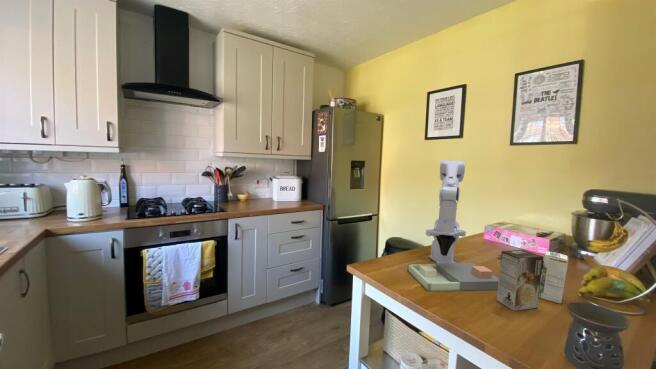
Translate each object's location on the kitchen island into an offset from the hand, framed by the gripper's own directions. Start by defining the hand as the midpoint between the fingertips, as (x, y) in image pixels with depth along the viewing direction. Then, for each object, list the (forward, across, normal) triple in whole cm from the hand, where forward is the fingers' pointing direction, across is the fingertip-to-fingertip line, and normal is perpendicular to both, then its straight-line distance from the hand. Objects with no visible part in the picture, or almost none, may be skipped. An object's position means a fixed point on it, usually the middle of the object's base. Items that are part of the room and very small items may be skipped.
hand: (443, 254), depth 102 cm
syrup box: (+8, +28, -18) cm, 34 cm away
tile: (+5, -6, 0) cm, 8 cm away
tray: (+8, -6, -4) cm, 11 cm away
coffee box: (+8, +13, -21) cm, 25 cm away
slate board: (+8, +8, -4) cm, 12 cm away
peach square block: (+5, +10, -7) cm, 14 cm away
